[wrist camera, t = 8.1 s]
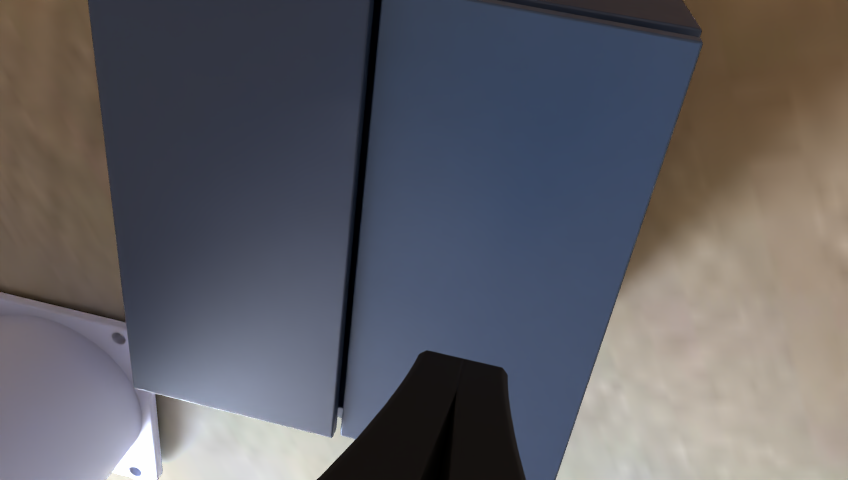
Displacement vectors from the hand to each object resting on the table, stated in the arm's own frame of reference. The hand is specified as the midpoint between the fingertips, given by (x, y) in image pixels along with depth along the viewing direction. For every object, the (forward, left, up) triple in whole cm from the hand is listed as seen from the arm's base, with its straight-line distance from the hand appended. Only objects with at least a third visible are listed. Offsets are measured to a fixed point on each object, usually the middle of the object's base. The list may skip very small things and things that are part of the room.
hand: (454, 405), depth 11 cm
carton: (-3, 0, -9) cm, 10 cm away
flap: (0, 0, -4) cm, 4 cm away
